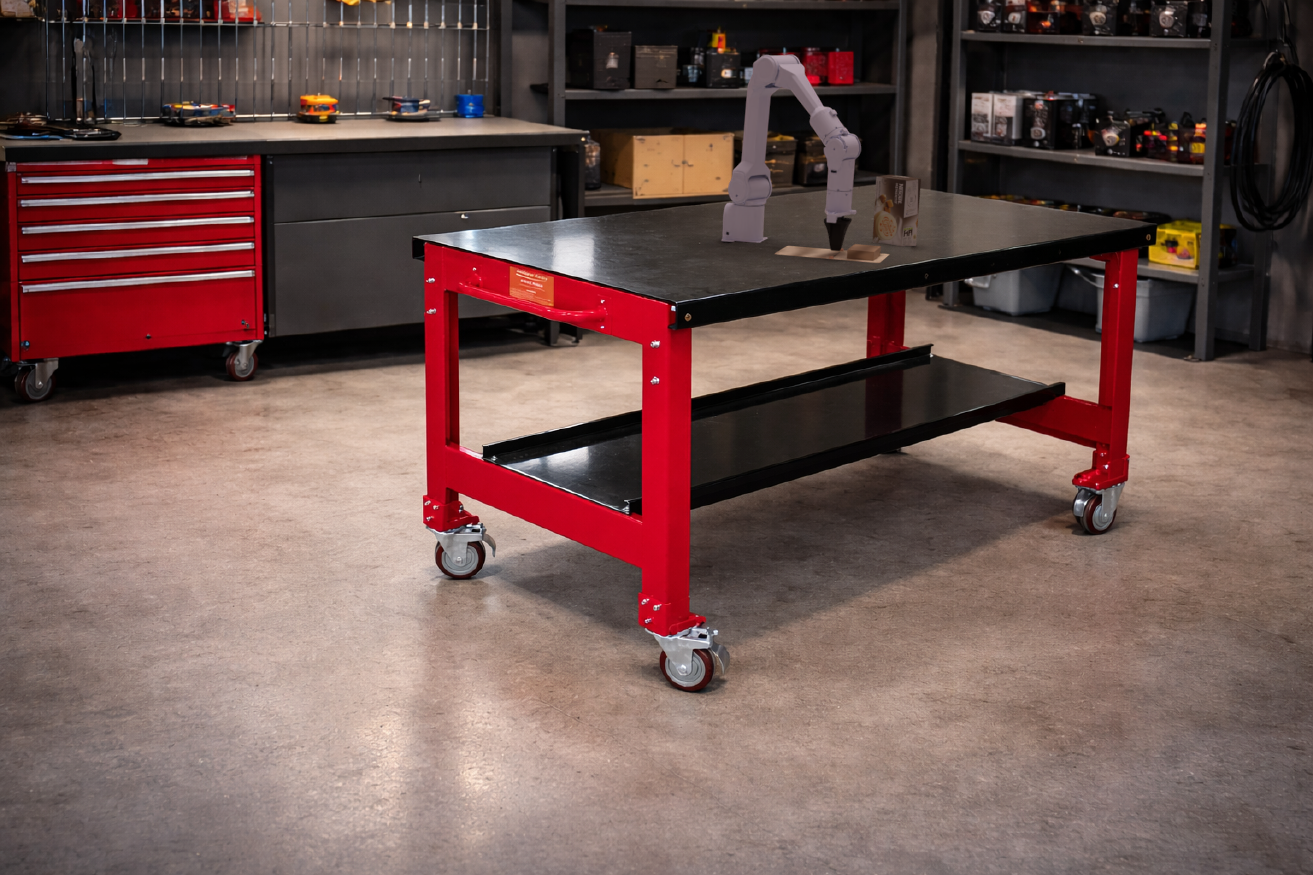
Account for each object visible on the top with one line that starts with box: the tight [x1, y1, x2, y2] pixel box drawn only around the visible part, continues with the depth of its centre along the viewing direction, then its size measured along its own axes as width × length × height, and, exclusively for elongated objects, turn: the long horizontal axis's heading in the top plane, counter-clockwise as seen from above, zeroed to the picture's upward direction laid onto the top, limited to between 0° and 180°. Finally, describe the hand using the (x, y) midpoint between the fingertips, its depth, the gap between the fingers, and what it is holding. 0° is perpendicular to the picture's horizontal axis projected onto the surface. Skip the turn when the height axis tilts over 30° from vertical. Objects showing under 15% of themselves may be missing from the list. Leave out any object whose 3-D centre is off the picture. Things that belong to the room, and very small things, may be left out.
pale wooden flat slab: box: [774, 245, 890, 264], centre depth 309 cm, size 24×12×1 cm, turn 71°
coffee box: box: [871, 174, 922, 247], centre depth 324 cm, size 9×6×16 cm
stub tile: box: [846, 243, 882, 261], centre depth 306 cm, size 6×8×2 cm
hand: (835, 250), depth 308 cm, fingers closed
